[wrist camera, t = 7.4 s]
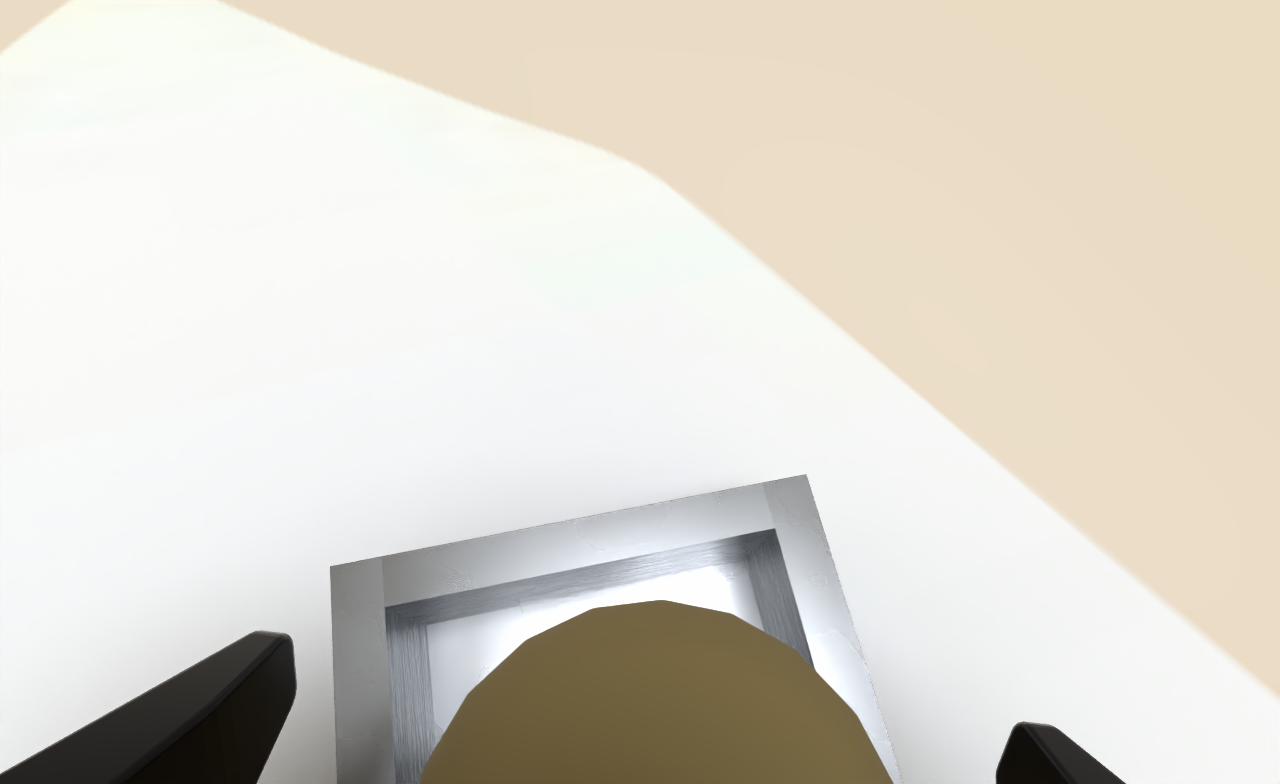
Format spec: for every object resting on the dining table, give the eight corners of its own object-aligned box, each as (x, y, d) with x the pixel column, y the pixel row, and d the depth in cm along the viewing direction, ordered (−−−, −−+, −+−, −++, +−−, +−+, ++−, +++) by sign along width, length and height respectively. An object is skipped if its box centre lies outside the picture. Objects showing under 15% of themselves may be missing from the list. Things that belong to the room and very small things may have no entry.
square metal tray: (894, 970, 15) (989, 1059, 11) (421, 1106, 14) (353, 1256, 10) (766, 519, 19) (806, 474, 15) (388, 595, 18) (330, 566, 14)
